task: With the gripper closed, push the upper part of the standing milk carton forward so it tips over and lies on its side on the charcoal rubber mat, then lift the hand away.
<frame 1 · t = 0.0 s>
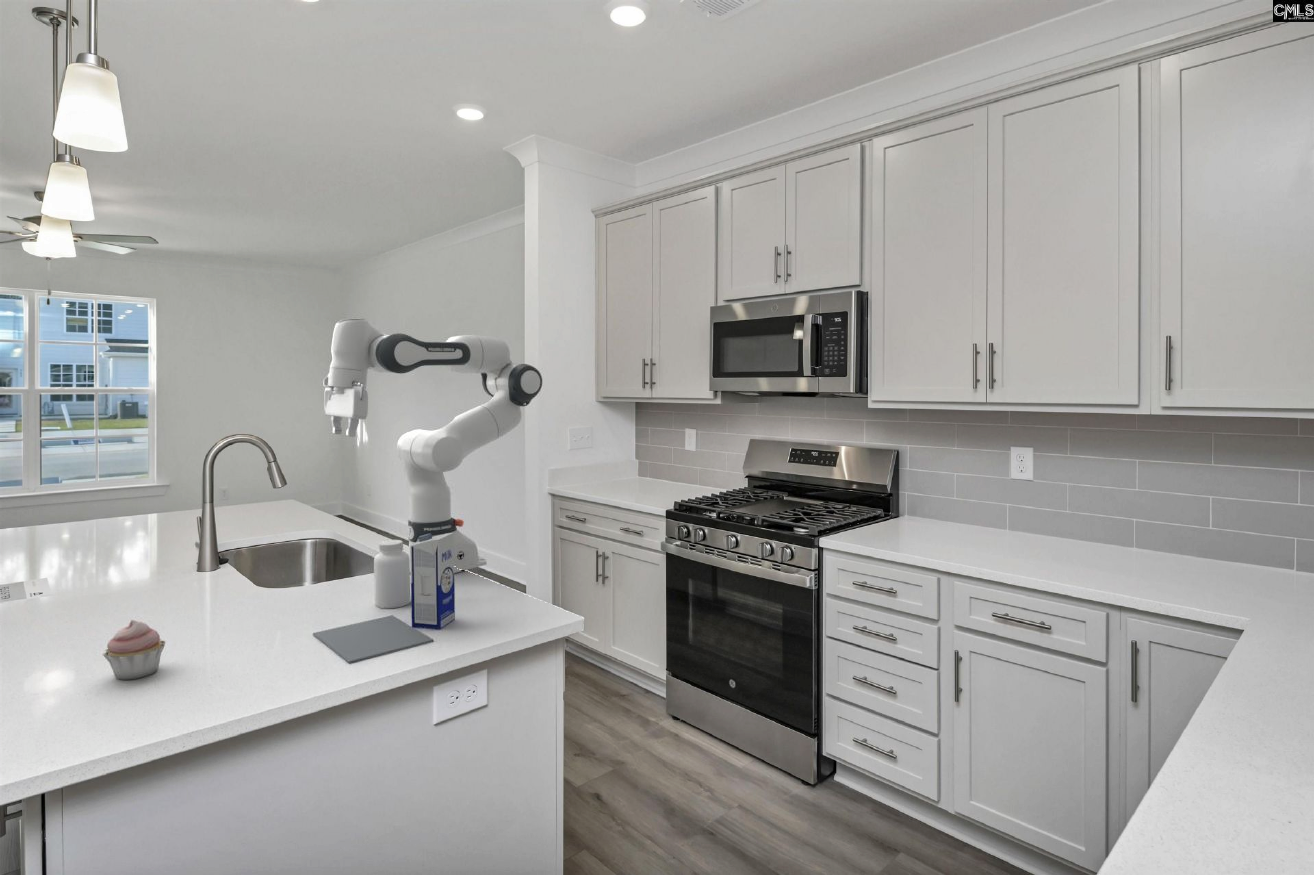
hand: (343, 435, 182), 39 cm above the counter, tool pointing down, fingers open, 8 cm apart
cupcake: (136, 674, 130), on the counter
pill bottle: (392, 604, 170), on the counter
mat: (372, 638, 148), on the counter
milk carton: (433, 624, 157), on the counter
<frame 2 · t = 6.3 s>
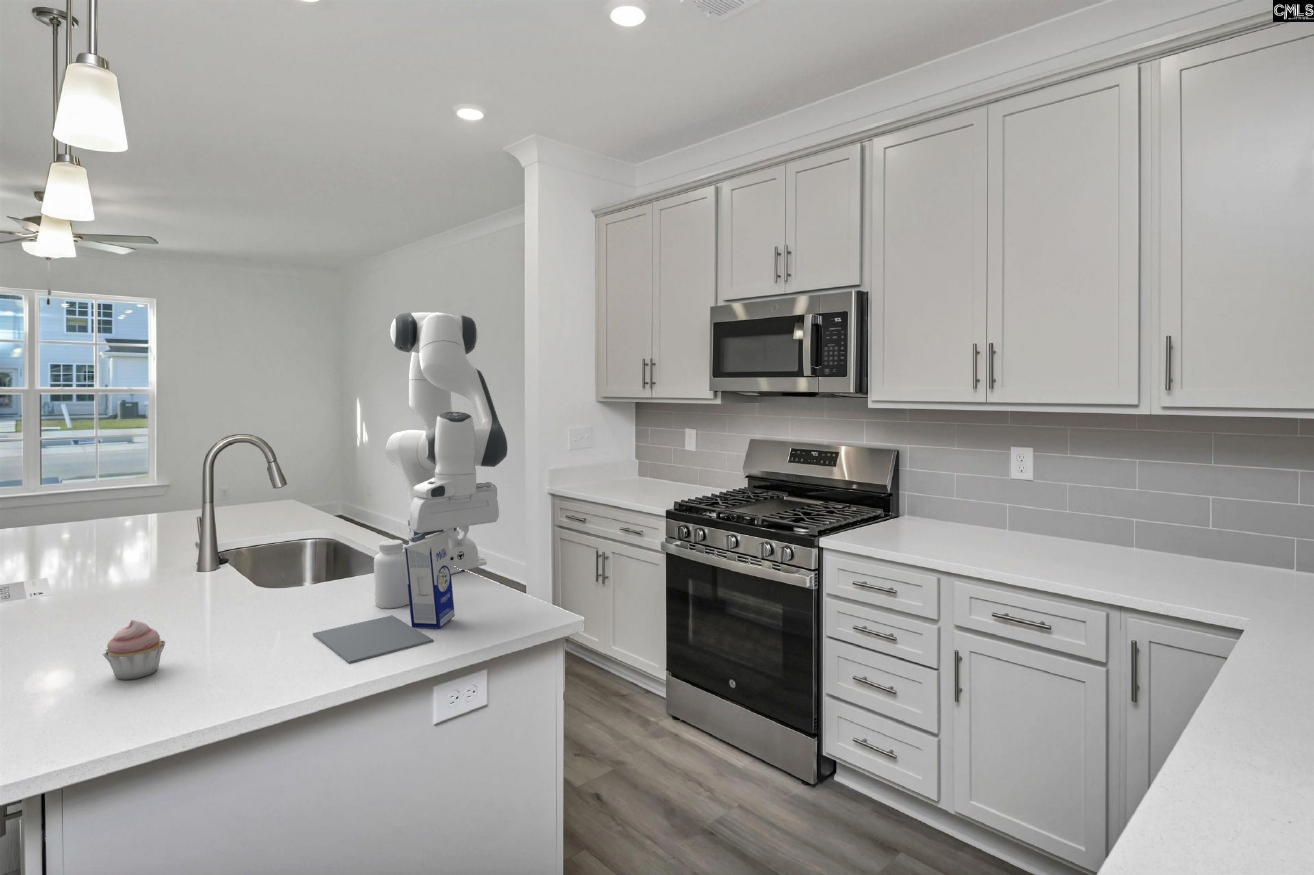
hand: (456, 546, 160), 16 cm above the counter, tool pointing down, fingers closed
milk carton: (433, 622, 157), on the counter, touching gripper
everything else where it was.
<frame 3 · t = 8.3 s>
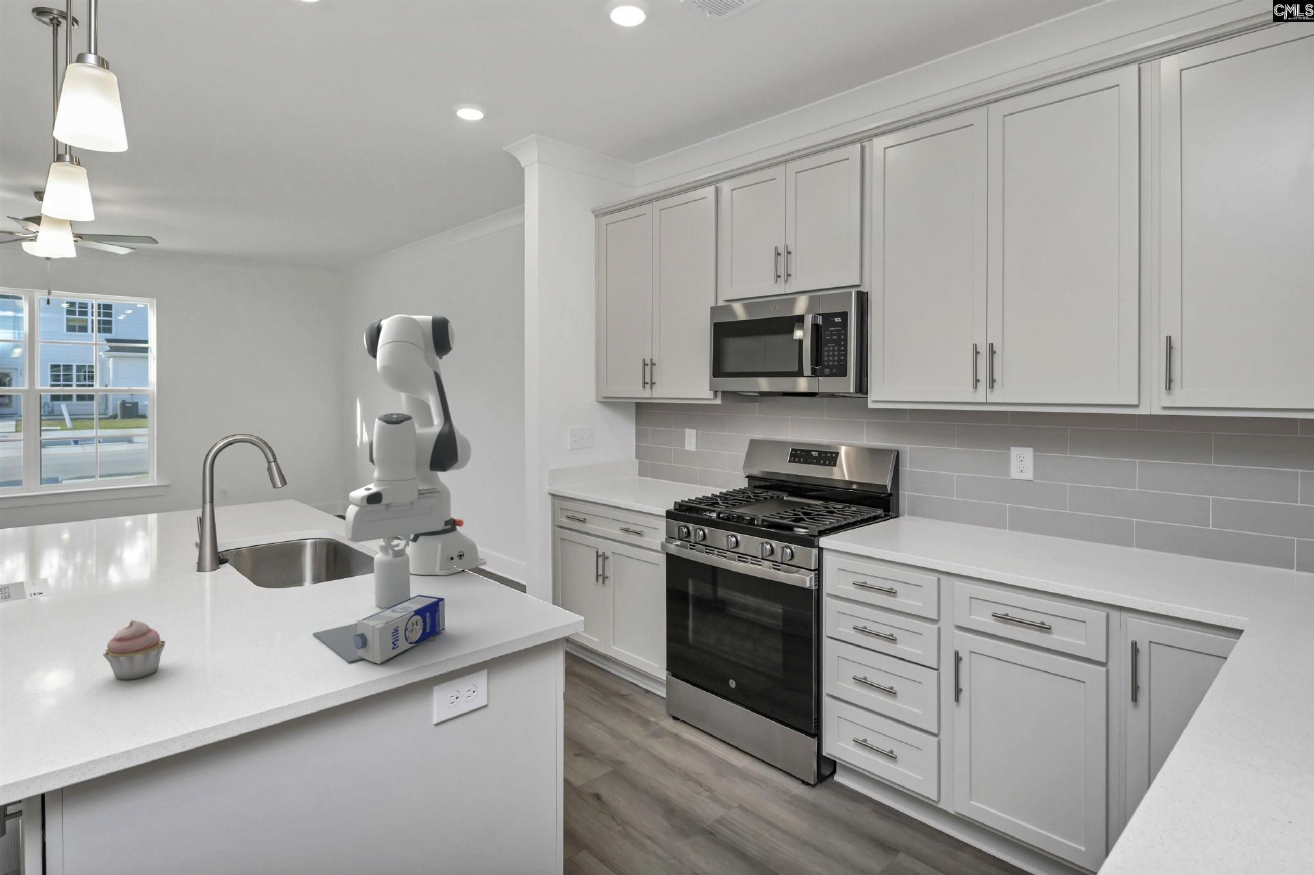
hand: (397, 556, 150), 16 cm above the counter, tool pointing down, fingers closed
milk carton: (432, 611, 153), point 4 cm above the counter, touching mat
everything else where it was.
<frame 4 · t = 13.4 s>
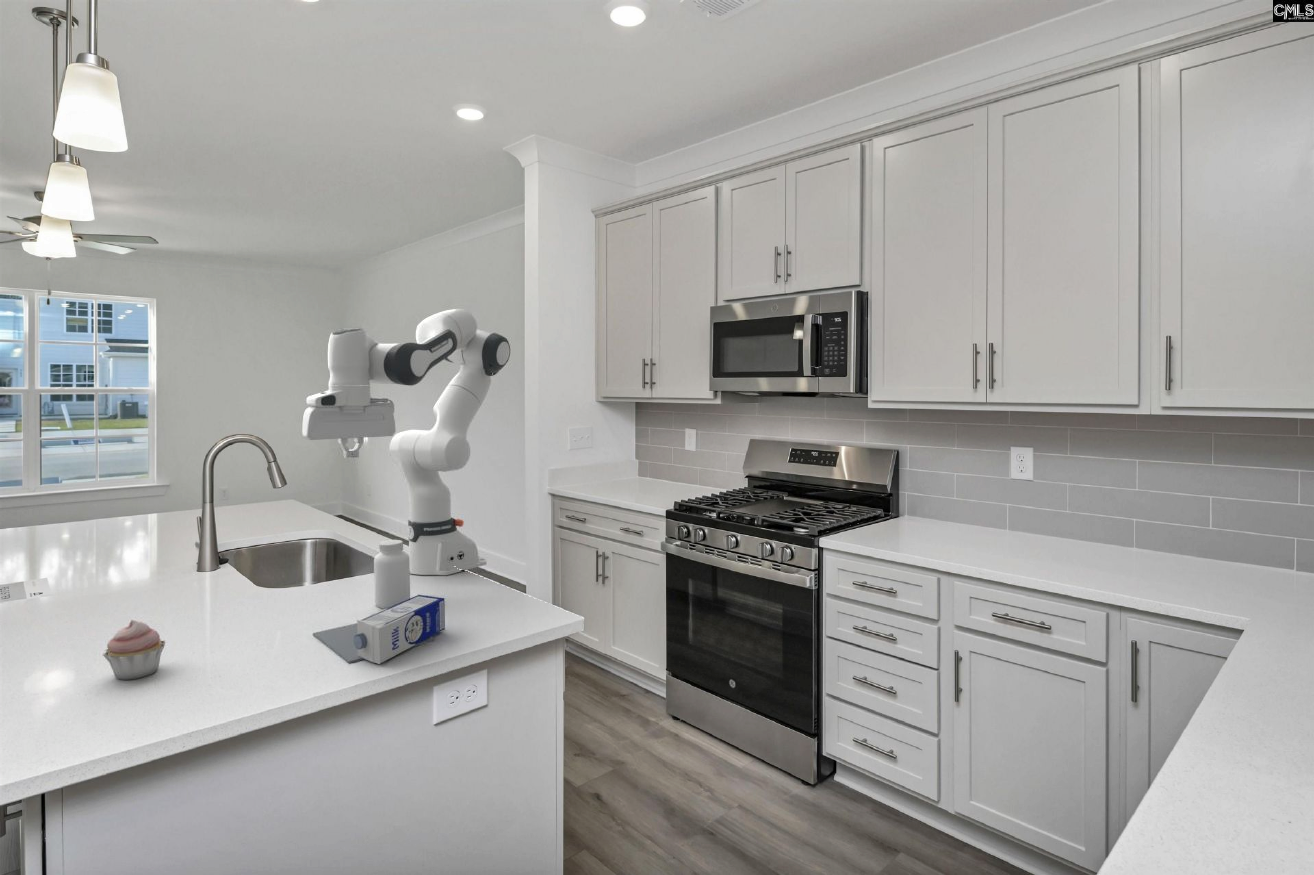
hand: (351, 457, 166), 35 cm above the counter, tool pointing down, fingers closed
nothing on the counter moved.
at the end: milk carton tilted 90°; milk carton touching mat; milk carton inside the target area (5.3 cm from its centre), point 3.9 cm above the counter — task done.
